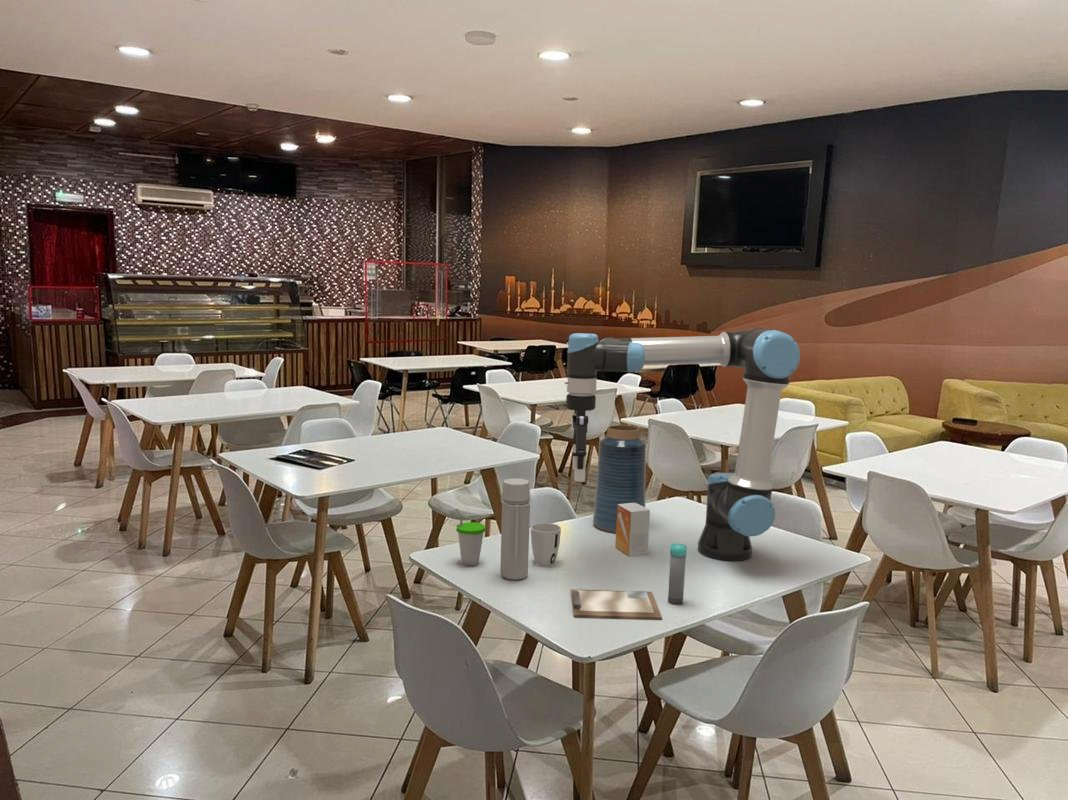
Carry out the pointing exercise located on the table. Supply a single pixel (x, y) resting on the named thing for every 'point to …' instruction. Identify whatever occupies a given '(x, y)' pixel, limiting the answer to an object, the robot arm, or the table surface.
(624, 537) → the small box
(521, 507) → the water bottle
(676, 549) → the marker
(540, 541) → the cup
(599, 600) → the tan flat rectangular tray
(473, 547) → the cup
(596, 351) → the robot arm
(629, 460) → the vase
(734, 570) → the table surface
